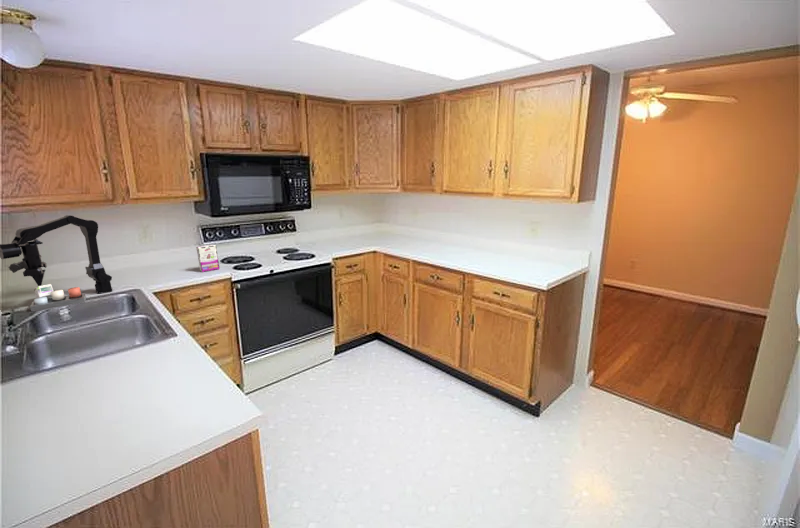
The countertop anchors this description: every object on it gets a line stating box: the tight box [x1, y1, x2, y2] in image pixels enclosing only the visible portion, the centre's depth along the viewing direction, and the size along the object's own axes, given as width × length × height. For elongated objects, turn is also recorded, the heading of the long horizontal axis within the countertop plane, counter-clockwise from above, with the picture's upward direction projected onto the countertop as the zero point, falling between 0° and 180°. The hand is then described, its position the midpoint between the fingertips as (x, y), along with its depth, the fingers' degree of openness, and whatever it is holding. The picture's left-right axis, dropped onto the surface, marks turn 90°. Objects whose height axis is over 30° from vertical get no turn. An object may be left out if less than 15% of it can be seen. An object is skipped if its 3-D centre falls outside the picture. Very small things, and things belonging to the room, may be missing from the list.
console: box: [29, 292, 87, 312], centre depth 188 cm, size 20×10×2 cm, turn 127°
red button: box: [67, 286, 82, 298], centre depth 191 cm, size 5×5×4 cm
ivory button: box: [51, 289, 66, 300], centre depth 188 cm, size 5×5×4 cm
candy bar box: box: [195, 244, 220, 273], centre depth 247 cm, size 11×5×16 cm, turn 131°
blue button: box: [33, 297, 48, 304], centre depth 184 cm, size 5×5×4 cm
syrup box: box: [34, 283, 54, 299], centre depth 191 cm, size 6×6×14 cm
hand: (39, 285), depth 183 cm, fingers closed
